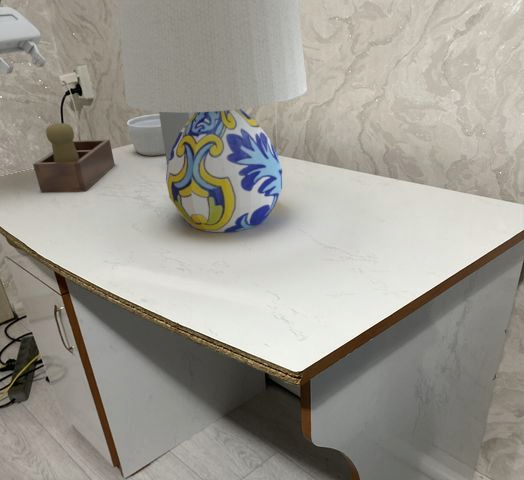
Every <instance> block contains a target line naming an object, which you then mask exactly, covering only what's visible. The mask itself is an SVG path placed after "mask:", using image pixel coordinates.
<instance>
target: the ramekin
mask: <svg viewBox="0 0 524 480" xmlns="http://www.w3.org/2000/svg"><path fill="white" fill-rule="evenodd" d="M126 127H127V130H128V131H129V132H128V133H129V135H130V138H131V142H132V145H133V148H134V150H135V151H136V152H137V153H138V154H140V155H142V156H150V157H152V156H153V157H154V156H155V157H156V156H157V157H158V156H166V154H165V148H164V141H163V135H162V128H161V122H160V115H159V113H154V114H146V115H141V116H137V117H133V118H131V119H129V120H128V121H127V122H126Z"/></svg>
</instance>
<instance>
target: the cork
mask: <svg viewBox="0 0 524 480" xmlns="http://www.w3.org/2000/svg"><path fill="white" fill-rule="evenodd" d="M45 136H46V138H47V140H48V142H50V144H51V148H52V152H53V155H54V162H77V161H78V160H79V156H78V153H77V151H76V148H75V145H74V143H73V141H74V138H75V133H74V130H73V128H72V126H71V125H70V124H69V123H65V122H58V123H53V124H50V125H48V126H47V127H46V129H45Z"/></svg>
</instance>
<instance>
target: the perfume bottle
mask: <svg viewBox="0 0 524 480" xmlns="http://www.w3.org/2000/svg"><path fill="white" fill-rule="evenodd" d="M158 114H159V115H160V122H161V128H162V135H163V141H164V148H165V154H166V155H165V160H166V165H167V164H168V161H169V157H170V154H171V150H172V147H173V145H174V143H175V141H176V139H177V137H178V135H179V133H180V131H181V130H182V128H183V127H184V126H185V125H186V124H187V122H188V121H189V120H190V119H191V117H192V116H193V115H194V114H195V112H185V113H177V112H158Z"/></svg>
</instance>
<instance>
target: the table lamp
mask: <svg viewBox="0 0 524 480" xmlns="http://www.w3.org/2000/svg"><path fill="white" fill-rule="evenodd" d="M117 8H118V18H119V19H118V20H119V34H120V35H119V36H120V46H121V47H120V48H121V58H122V71H123V72H122V73H123V85H124V96H125V97H124V99H125V104H126V105H127V106H128V107H131V108H133V109H136V110H142V111H146V112H157V113H159V112H177V113H185V112H195V114H194V115H193V116H192V117H191V119H190V120H189V121H188V122H187V124H186V125H185V126H184V127H183V128H182V130H181V131H180V133H179V135H178V137H177V139H176V141H175V143H174V145H173V147H172V150H171V154H170V157H169V161H168V164H167V163H166V174H165V176H166V177H165V183H166V187H167V192H168V197H169V199H170V201H171V202H172V204H173V206H174V207H175V209H176V210H177V212H178V213H179V214H180V215H181V216H182V218H184V220H185V221H186V222H187V223H188V224H189V225H190V226H191V227H193V228H194V229H197V230H200V231H203V232H209V231H210V233H231V232H232V231H233V232H240V231H244V229H245V230H248V229H250V228H251V229H252V228H254V227H257V226H259V225H261V224H262V223H264V222H265V221H266V220H268V217H269V216H270V214H271V212H272V211H273V209H274V208H275V206H276V204H277V203H278V199H279V197H280V195H281V191H282V189H283V169H282V165H281V161H280V158H279V155H278V153H277V151H276V149H275V147H274V145H273V143H272V141H271V139H270V138H269V136H268V135H267V134H266V132H265V131H264V130H263V128H262V126H260V124H259V123H258V122H257V121H256V120H254V119H253V118H252V117H251V116H250V115H249V114H247V113H246V112H245V111H244V109H250V108H252V109H253V108H258V107H263V106H264V107H265V106H269V105H273V104H279V103H282V102H286V101H290V100H293V99H295V98H299V97H300V96H302V95H304V94H305V93H306V92H307V90H308V85H307V83H308V82H307V74H306V65H305V56H304V48H303V37H302V29H301V27H302V26H301V17H300V10H299V9H300V8H299V0H117ZM233 232H232V233H233Z"/></svg>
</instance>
